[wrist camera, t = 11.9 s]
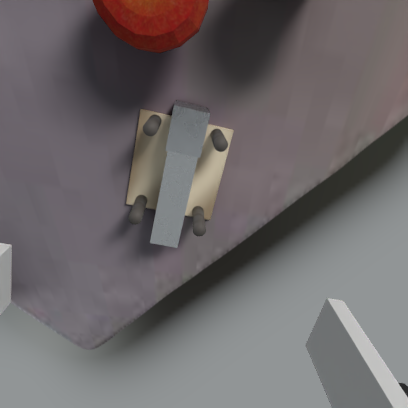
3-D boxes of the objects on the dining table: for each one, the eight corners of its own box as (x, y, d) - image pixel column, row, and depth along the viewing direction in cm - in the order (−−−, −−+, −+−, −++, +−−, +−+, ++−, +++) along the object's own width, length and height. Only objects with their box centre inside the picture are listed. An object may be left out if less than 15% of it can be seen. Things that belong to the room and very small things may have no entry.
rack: (126, 202, 46) (117, 222, 40) (141, 108, 41) (133, 115, 35) (209, 218, 47) (212, 240, 41) (232, 129, 43) (240, 140, 37)
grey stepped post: (180, 227, 47) (179, 248, 41) (152, 221, 46) (147, 242, 41) (207, 107, 41) (210, 113, 35) (175, 100, 40) (173, 105, 35)
